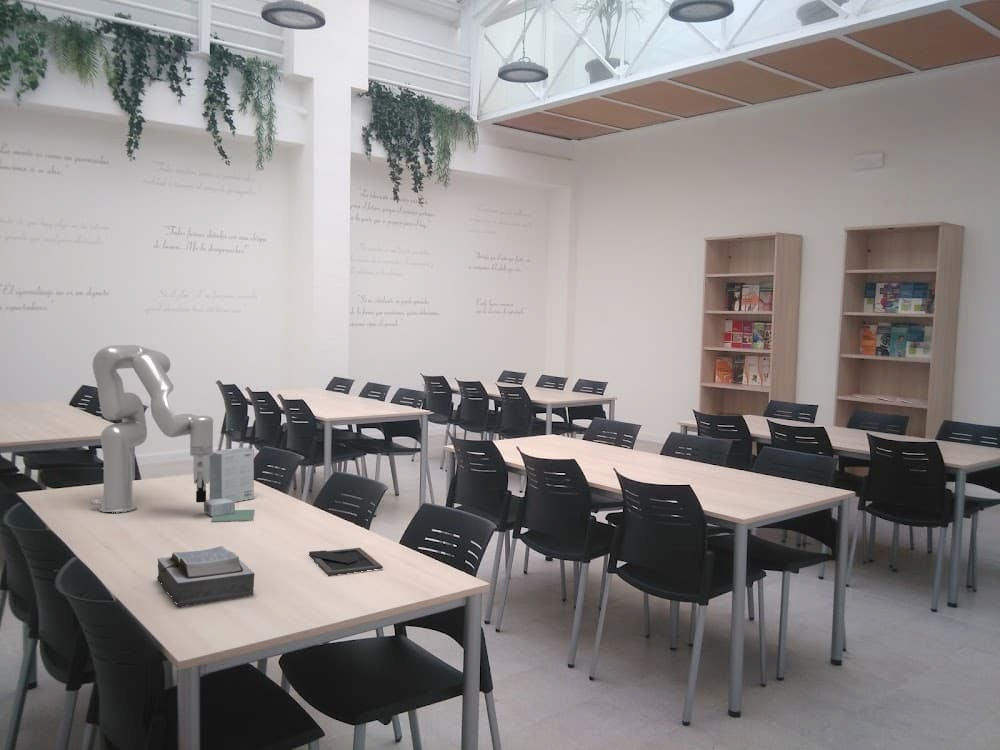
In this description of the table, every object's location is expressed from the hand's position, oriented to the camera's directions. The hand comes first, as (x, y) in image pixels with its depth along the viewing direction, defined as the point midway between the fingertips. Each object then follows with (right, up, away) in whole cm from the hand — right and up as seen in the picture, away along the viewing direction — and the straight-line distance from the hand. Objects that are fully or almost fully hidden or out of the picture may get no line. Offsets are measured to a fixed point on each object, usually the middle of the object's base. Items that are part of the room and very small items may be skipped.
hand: (201, 501), depth 286 cm
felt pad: (+10, -6, +3) cm, 12 cm away
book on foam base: (+28, -12, -74) cm, 80 cm away
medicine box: (+1, -3, +3) cm, 4 cm away
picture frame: (+61, -11, -48) cm, 78 cm away
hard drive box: (+2, -4, +28) cm, 28 cm away
